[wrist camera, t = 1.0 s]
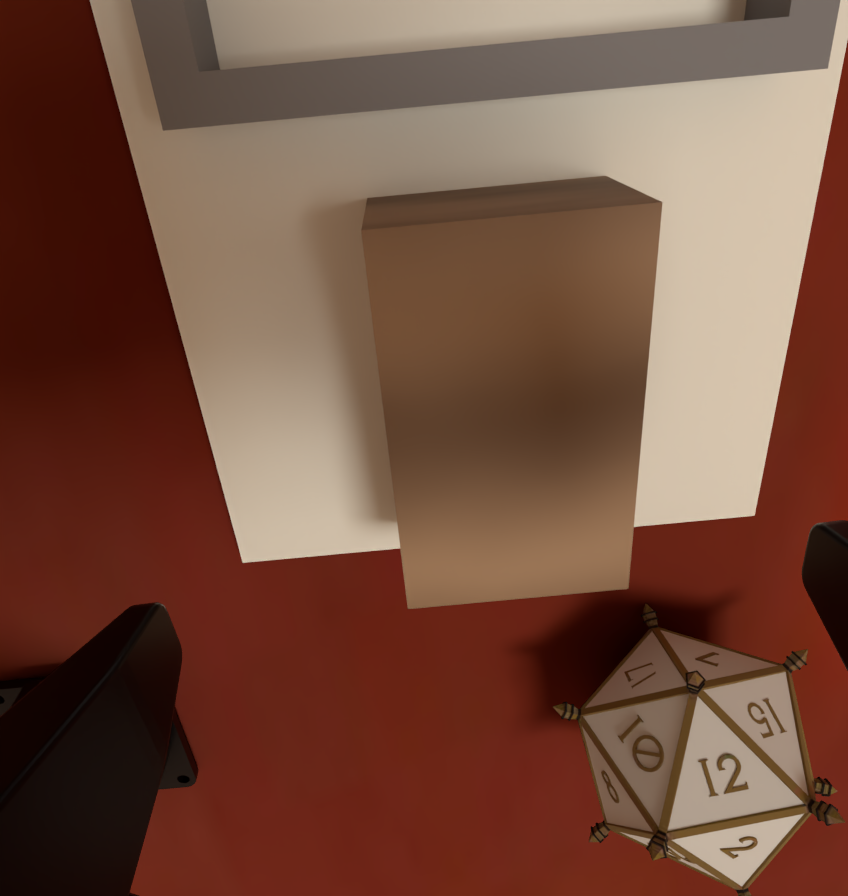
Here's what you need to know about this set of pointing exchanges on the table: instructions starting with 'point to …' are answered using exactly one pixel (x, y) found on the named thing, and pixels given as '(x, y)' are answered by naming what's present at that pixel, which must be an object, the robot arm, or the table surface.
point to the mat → (462, 167)
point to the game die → (701, 755)
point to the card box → (513, 382)
